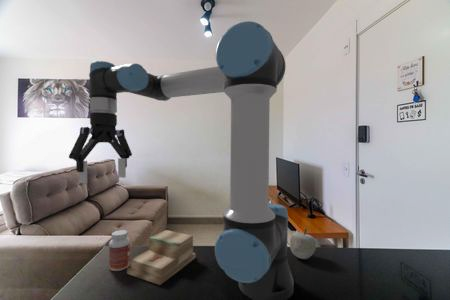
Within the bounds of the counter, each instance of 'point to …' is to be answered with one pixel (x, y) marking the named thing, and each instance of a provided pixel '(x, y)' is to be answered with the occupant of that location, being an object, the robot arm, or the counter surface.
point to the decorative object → (302, 244)
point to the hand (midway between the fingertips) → (104, 180)
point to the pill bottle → (119, 251)
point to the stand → (163, 257)
